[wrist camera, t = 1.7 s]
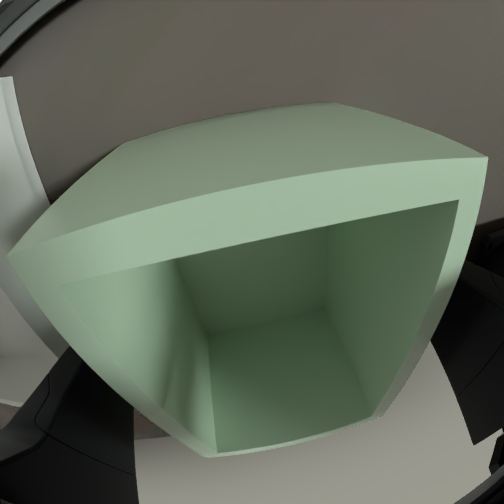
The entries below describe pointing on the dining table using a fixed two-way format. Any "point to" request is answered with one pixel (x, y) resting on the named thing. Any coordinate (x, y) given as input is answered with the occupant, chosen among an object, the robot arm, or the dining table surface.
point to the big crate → (3, 275)
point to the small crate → (258, 269)
